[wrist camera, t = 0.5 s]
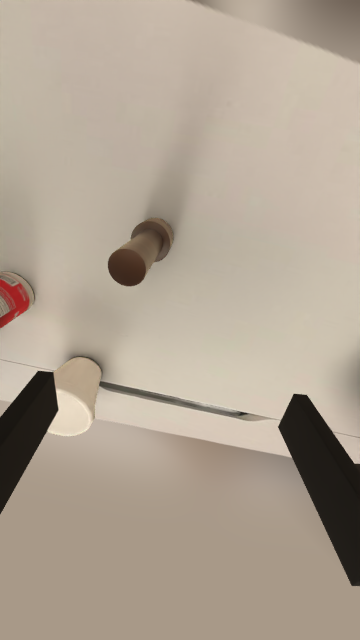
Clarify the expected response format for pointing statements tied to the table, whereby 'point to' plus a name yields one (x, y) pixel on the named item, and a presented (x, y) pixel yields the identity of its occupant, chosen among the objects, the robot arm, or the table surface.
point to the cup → (75, 396)
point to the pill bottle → (13, 297)
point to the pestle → (141, 252)
